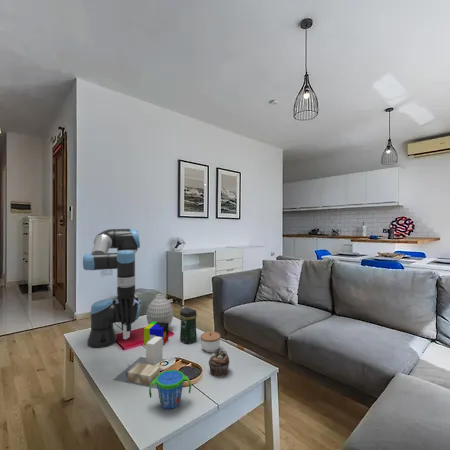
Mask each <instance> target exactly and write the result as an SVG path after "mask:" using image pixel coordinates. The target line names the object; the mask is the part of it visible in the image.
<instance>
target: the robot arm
mask: <svg viewBox="0 0 450 450" xmlns="http://www.w3.org/2000/svg"><path fill="white" fill-rule="evenodd" d="M138 231H139V230H138V229H136V228H111V229H110V228H109V229H106V230H103V231H101V232H98V234H96V236H95V238H94V239H93V247H92V249H91V253H85V254H84V255H83V257H82V268H83V269H84V270H85V271H100V270H101V271H102V270H116V274H117V275H116V278H117V279H116V285H117V287H116V288H117V289H116V290H117V291H116V294H117V298H116V299H113V298H104V299H100V300H98V301H96V302H93V303H92V304H91V306H90V331H89V335H88V338H87V347H90V348H93V349H102V348H105V347H108V346H111V345H113V344H115V343H116V342H117V341H116V339H117V340H118V338H117V337H118V336H117V334H116V332H115V328H114V324H115V323H116V324H117V323H121V331H122V339H123V340H128V338H129V339H130V338H131V337H130V335H131V331H132V324H133V323H135V322H136V321H137V320H138V319H139V317H140V311H141V303H142V302H141V301H142V300H141V299H139V296H138V294H136V253H137V252H138V251H139V248H141V244H140V243H141V241H140V237H139V235H140V234H139V232H138ZM110 249H111V250H112V249H116V250H117V252H109V250H110Z"/></svg>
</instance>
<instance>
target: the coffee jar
mask: <svg viewBox="0 0 450 450" xmlns="http://www.w3.org/2000/svg"><path fill="white" fill-rule="evenodd" d="M197 316H198V315H197V310H196V309H193V308H191V307H190V308H189V307H187V306H186V307H183V308H181V309H180V311H179V317H180V333H179V339H180V341H181V342H183V343H184V344H193V343H196V341H197V340H198V339H197V337H198V336H197Z"/></svg>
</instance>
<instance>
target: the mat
mask: <svg viewBox="0 0 450 450" xmlns="http://www.w3.org/2000/svg"><path fill="white" fill-rule="evenodd" d="M136 363H143V364H146V356H145V357H144V356H140V357H138V358H137V359H136V360H135V361H133V363H132V364H130V365H128V367H127V368H125V369H124V370H123V371H122V372H120V373H119V374H118V375H117V376H115V377H114V378H113V379H112V381H118V382H120V383H121V382H122V383H127V384H131V385H136V386H142V387H147V388H150V386H149V385H144V384H139V383H134V382H129V381H126V371H127V370H129V369H130V368H131V367H132V366H133V365H134V364H136ZM151 389H156V390H158V388H157V385H156V384H153V385H152V386H151Z"/></svg>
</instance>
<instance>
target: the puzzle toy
mask: <svg viewBox="0 0 450 450" xmlns="http://www.w3.org/2000/svg"><path fill="white" fill-rule="evenodd" d="M155 336H157V337H163V346H165V345H166V343H167V342H168V341H169V327H168V323H162V322H151V323H150V324H148V325H146V326H145V327H144V328H143V345H144V346H146V343H147V342H148V341H150V340H151V339H152V338H154V337H155Z"/></svg>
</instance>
